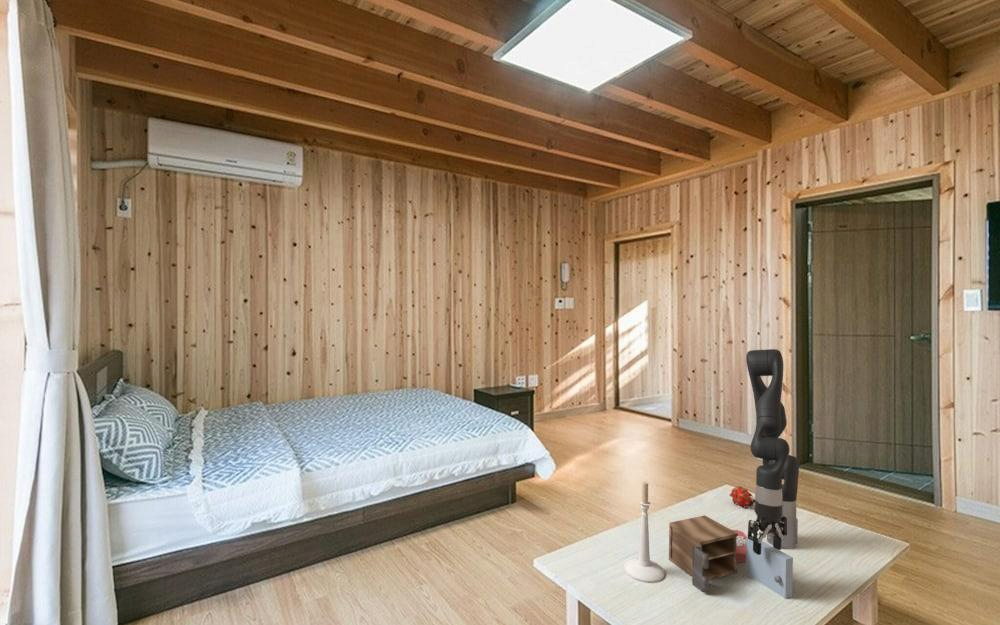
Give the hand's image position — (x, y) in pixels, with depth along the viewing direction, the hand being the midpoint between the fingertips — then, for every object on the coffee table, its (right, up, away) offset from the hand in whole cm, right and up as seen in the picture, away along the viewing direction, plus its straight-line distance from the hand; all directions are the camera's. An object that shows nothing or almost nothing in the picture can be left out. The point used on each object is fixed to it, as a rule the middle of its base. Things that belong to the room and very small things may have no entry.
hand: (767, 551), depth 147 cm
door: (0, -11, 0) cm, 11 cm away
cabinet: (-17, -10, +7) cm, 21 cm away
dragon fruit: (+23, -10, +58) cm, 63 cm away
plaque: (-1, -11, +22) cm, 25 cm away
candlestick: (-37, -11, +7) cm, 39 cm away
